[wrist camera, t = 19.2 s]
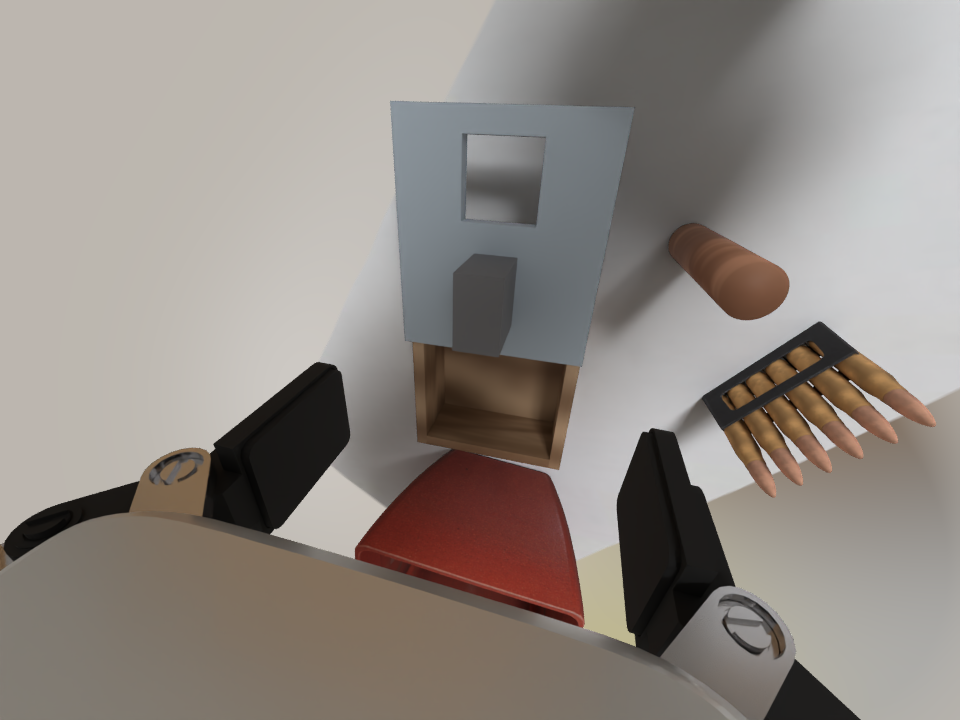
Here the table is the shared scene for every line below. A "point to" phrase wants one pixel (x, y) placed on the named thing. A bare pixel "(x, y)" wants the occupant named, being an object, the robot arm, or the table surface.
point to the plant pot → (482, 535)
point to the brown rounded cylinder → (729, 272)
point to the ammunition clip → (806, 404)
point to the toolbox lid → (505, 229)
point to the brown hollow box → (493, 404)
